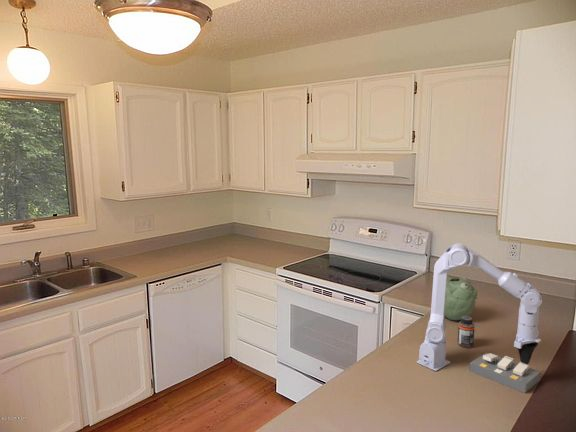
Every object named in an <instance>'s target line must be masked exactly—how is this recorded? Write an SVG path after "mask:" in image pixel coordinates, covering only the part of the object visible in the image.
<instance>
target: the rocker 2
mask: <svg viewBox="0 0 576 432" xmlns="http://www.w3.org/2000/svg"><path fill="white" fill-rule="evenodd" d="M502 358H503V359H502V360H501V361H500V362H499V363H498V364H497V367H499V368H501V369H504V370H506V369H507V368H508V367H509V366H510V364H511V363H513V362H515V361H514V358H513V357H510V356H507V355H504V356H503V357H502Z"/></svg>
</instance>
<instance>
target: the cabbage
mask: <svg viewBox="0 0 576 432" xmlns="http://www.w3.org/2000/svg"><path fill="white" fill-rule="evenodd" d="M473 285H474V284H473V283H472V282H470V281H469V278H468V277H466V276H463V277H450V276H447V285H446V297H445V310H444V318H446V319H448V320H450V321H461V317H462V316H468V317H469V316H470V315H471V313H473V311H474V310H475V307H476V300H477V299H478V290H477V289H476V288H475V287H474V286H473Z"/></svg>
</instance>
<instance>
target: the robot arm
mask: <svg viewBox="0 0 576 432" xmlns="http://www.w3.org/2000/svg"><path fill="white" fill-rule="evenodd" d="M466 265H467V267H475V268H479V269H480V270H482V271H483V272H484V273H487V274H488V275H490V276H491V277H492V278H494V279H495V280H497V283H498V286H499V287H501V288H502V289H503V290H505V291H507V292H508V293H509V294H510V295H511V296H513V297H515V298H517V299H520V303H519V307H518V308H519V309H518V317H517V318H518V319H517V329H516V330H517V331H516V332H517V333H516V334H515V340H514V343H513V348H517V351H518V355H519V359H520V361H521V362H523V363H526V364H530V361H531V359H532V355H533V353H534V351H535V349H536V348H537V346H538V343H541V341H542V339H541V338H539V335H540V334H539V333H540V331H539V329H538V328H539V319H540V317H539V316H540V306H541V305H542V303H543V300H542V295H541V294H540V292H539V290H538V289H537V288H536V287H535V286H534V285H532V284H531V283H530V282H525V281H524V280H522V279H521V278H520V277H519V275H518V273H516V272H513V273H512V272H511V271H503V270H501V269H500V268H499V267H498V266H496V265H495V264H494V263H492V262H490V261H489V260H488V259H486V258H485V257H484V256H482V255H481V254H479V253H478V252H477V251H475V250H474V249H472V248H470V247H467V246H466V245H465V244H464V243H460V242H459V243H458V242H457V243H455V244H452V245H451V246H449V247H447V248H446V250H445V251H444V252H443V253H442V254H441V255H440V257H439V258H438V259H437V260H436V262H435V263H434V266H433V275H432V278H433V279H432V293H431V305H430V315H429V316H430V317H429V320H428V322H427V327H426V331H425V336H424V341H423V342H422V343H421V344H420V346H419V352H418V360H417V361H416V363H417V364H418V365H421V366H423V367H425V368H428V369H430V370H433V371H435V372H437V371H438V370H441V369H443V368H444V367H446V366H448V365H449V364H451V361H449V360H448V359H446V354H447V337H446V329H447V323H446V321H445V316H444V310H445V297H446V285H447V277H448V273H449V272H451V271H452V270H454V269H457V268H461V267H464V266H466Z"/></svg>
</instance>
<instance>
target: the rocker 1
mask: <svg viewBox="0 0 576 432" xmlns="http://www.w3.org/2000/svg"><path fill="white" fill-rule="evenodd" d="M482 355H483V354H482ZM498 357H500V356H499V355H497V354H494V353H491V352H489V354H486V355H483V359H485V360H487V361H490V362H491V361H495V358H497V360H498Z"/></svg>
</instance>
